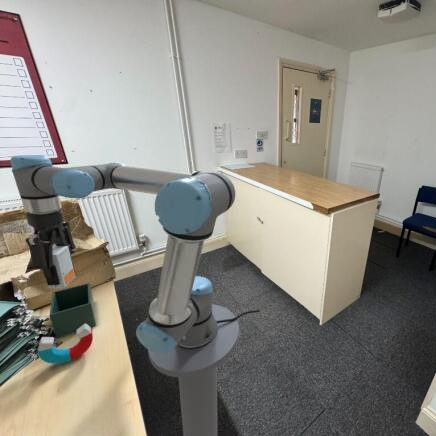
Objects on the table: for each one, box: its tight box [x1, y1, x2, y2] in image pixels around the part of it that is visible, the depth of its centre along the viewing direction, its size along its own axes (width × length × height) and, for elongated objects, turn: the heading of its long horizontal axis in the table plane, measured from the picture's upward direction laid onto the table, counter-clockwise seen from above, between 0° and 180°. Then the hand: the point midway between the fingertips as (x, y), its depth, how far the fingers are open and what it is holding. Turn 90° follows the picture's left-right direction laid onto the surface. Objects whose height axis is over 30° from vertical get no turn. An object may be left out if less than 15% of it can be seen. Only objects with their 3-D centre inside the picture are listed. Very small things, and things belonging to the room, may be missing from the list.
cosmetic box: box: [47, 245, 76, 289], centre depth 74 cm, size 6×4×12 cm
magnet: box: [37, 323, 94, 365], centre depth 71 cm, size 12×3×10 cm, turn 129°
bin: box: [48, 282, 97, 339], centre depth 84 cm, size 14×10×10 cm
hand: (61, 277), depth 75 cm, fingers closed on cosmetic box, 6 cm apart
